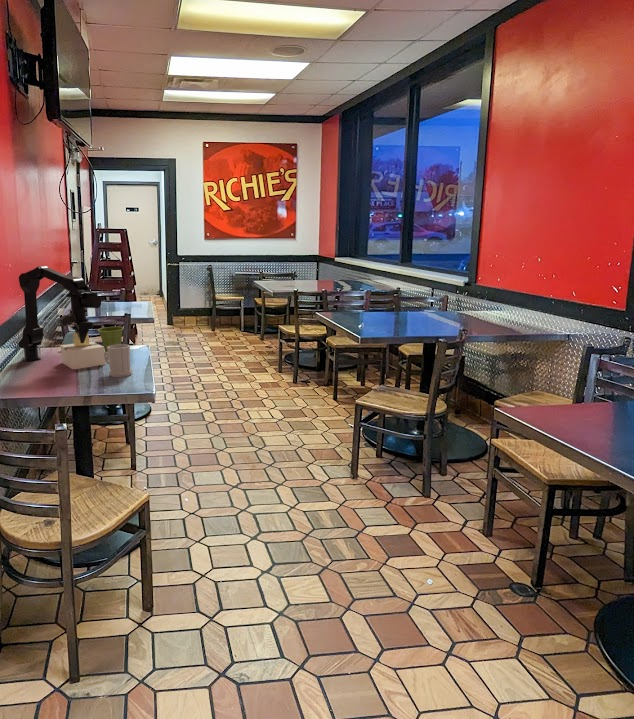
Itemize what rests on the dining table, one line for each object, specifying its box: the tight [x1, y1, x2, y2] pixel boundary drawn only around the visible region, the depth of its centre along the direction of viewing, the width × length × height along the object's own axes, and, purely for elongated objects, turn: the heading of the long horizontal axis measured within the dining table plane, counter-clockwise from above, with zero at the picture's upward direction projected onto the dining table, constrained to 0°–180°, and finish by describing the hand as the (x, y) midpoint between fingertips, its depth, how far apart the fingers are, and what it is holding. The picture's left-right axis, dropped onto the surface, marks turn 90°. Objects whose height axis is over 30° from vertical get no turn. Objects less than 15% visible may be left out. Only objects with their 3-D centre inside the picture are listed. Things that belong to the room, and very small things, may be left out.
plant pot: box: [97, 326, 124, 353], centre depth 306 cm, size 12×12×11 cm
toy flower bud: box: [63, 330, 75, 345], centre depth 315 cm, size 7×9×12 cm
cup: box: [104, 343, 133, 378], centre depth 261 cm, size 10×9×12 cm
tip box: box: [59, 341, 106, 370], centre depth 282 cm, size 16×14×8 cm
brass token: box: [73, 332, 90, 347], centre depth 281 cm, size 2×6×6 cm, turn 126°
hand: (81, 342), depth 281 cm, fingers closed on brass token, 2 cm apart
